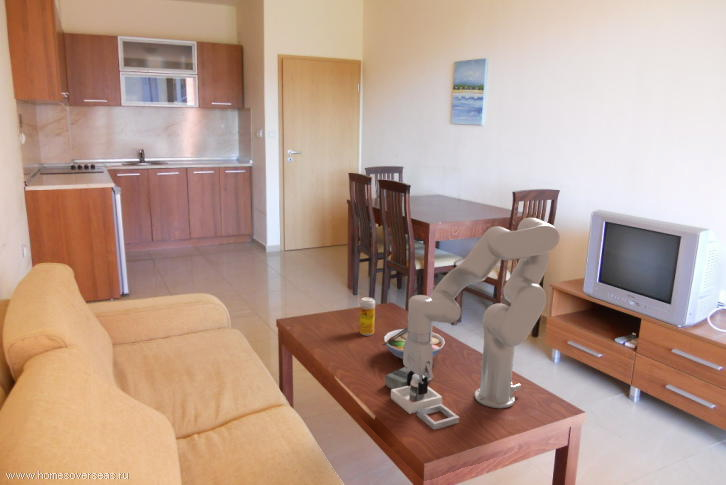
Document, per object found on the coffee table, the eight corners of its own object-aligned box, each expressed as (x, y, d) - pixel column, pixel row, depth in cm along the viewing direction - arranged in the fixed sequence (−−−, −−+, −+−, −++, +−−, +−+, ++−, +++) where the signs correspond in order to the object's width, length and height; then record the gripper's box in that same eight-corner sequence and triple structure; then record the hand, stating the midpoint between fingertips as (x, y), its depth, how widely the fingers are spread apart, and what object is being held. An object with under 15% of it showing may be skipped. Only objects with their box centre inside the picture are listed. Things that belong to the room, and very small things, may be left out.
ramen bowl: (424, 378, 191) (426, 356, 190) (369, 361, 204) (370, 340, 202) (455, 354, 212) (456, 334, 210) (403, 340, 224) (404, 321, 222)
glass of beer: (357, 335, 229) (358, 300, 225) (362, 330, 234) (363, 296, 231) (371, 337, 227) (372, 302, 224) (375, 331, 233) (376, 297, 229)
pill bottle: (406, 398, 176) (408, 374, 174) (419, 395, 178) (421, 371, 176) (413, 405, 171) (415, 380, 170) (427, 402, 173) (428, 378, 171)
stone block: (382, 386, 185) (382, 372, 184) (411, 374, 195) (412, 360, 194) (401, 396, 179) (402, 381, 178) (431, 383, 188) (431, 369, 187)
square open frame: (440, 408, 171) (441, 403, 170) (458, 422, 163) (459, 417, 163) (416, 415, 167) (416, 409, 166) (434, 429, 159) (434, 424, 159)
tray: (421, 390, 182) (422, 382, 182) (441, 405, 173) (442, 396, 172) (390, 398, 177) (391, 389, 176) (409, 414, 167) (410, 405, 167)
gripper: (394, 328, 176) (392, 380, 179) (425, 347, 161) (422, 404, 165) (414, 324, 179) (411, 376, 183) (446, 343, 164) (442, 399, 168)
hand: (416, 388), depth 174 cm, fingers open, 5 cm apart
